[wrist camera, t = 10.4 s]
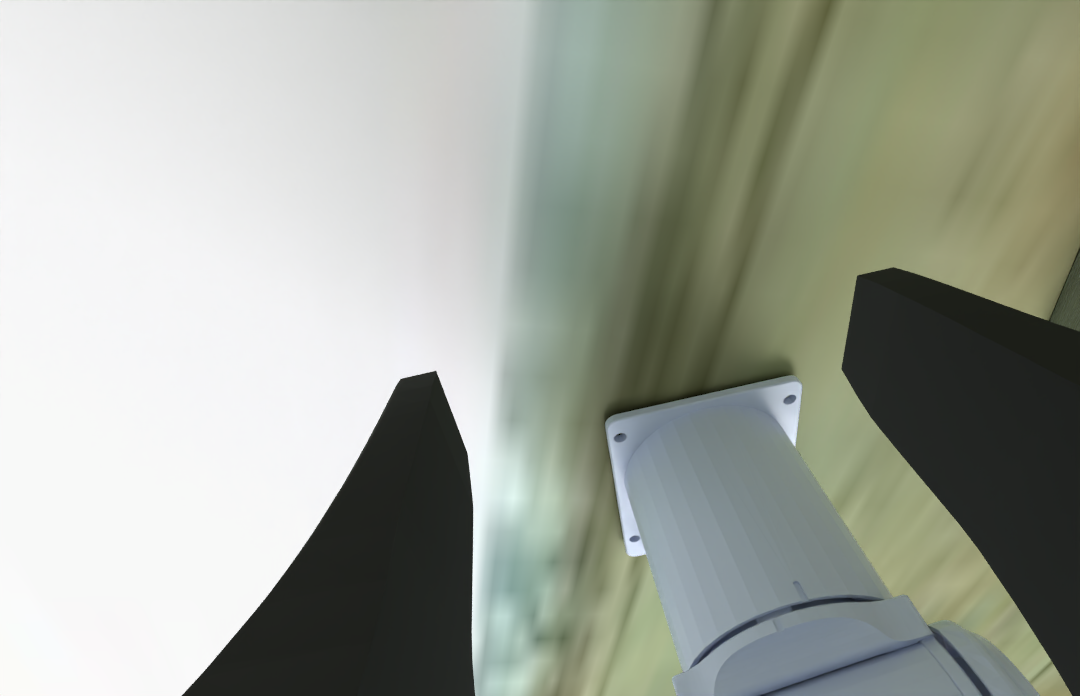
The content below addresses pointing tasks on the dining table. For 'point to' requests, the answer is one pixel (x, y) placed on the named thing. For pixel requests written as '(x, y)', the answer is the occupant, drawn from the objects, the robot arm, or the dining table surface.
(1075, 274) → the lip
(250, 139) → the dining table surface
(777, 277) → the dining table surface
